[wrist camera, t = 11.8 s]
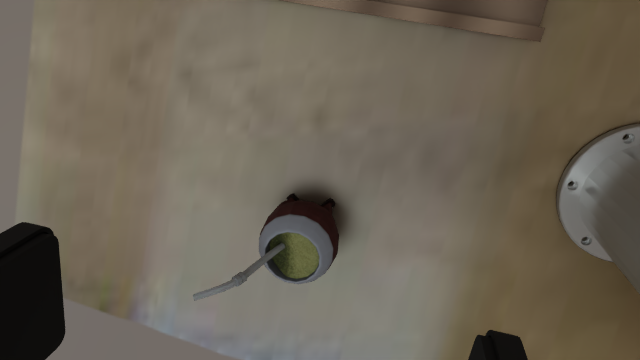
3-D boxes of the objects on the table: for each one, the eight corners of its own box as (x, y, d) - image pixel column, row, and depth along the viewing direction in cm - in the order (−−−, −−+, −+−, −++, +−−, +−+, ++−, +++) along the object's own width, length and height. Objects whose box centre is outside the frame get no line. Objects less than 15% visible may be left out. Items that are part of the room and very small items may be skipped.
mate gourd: (359, 224, 46) (338, 318, 32) (301, 264, 48) (258, 367, 35) (310, 167, 44) (265, 240, 31) (253, 212, 47) (189, 297, 33)
